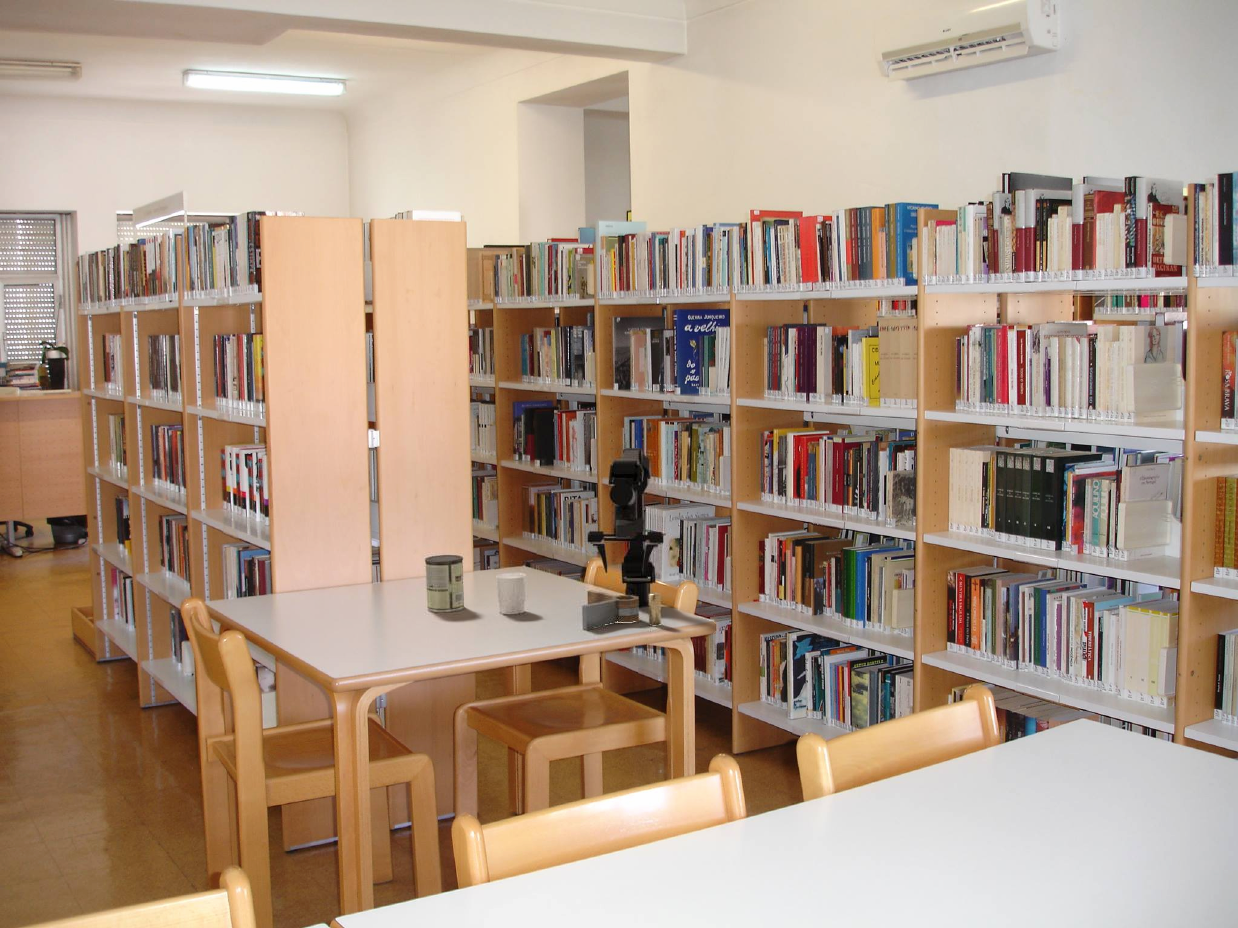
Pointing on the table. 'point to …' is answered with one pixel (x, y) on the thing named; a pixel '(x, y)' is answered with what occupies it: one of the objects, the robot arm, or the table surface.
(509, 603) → the white cup
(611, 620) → the slate leaf
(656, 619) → the brass pin
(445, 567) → the coffee can
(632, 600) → the tan hinge leaf
